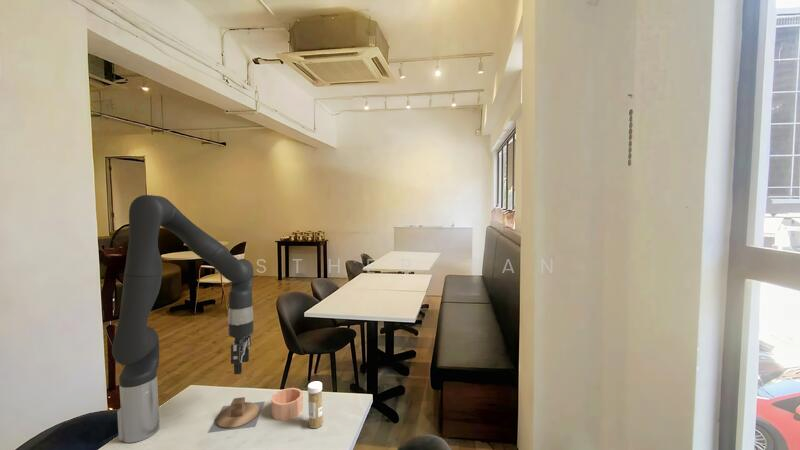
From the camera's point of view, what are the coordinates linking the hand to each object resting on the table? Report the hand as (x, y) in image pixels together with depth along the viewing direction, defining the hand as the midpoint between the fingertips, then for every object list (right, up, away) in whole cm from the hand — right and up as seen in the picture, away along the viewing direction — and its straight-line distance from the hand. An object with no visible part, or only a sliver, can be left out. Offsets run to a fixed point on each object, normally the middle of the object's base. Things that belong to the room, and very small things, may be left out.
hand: (241, 367), depth 110 cm
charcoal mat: (-1, -17, +1) cm, 17 cm away
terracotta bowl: (+14, -17, +3) cm, 22 cm away
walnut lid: (-2, -17, +1) cm, 17 cm away
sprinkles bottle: (+26, -17, -3) cm, 31 cm away
